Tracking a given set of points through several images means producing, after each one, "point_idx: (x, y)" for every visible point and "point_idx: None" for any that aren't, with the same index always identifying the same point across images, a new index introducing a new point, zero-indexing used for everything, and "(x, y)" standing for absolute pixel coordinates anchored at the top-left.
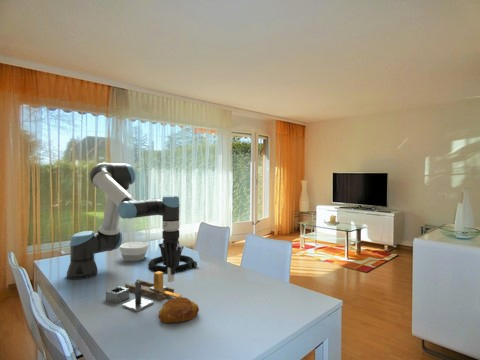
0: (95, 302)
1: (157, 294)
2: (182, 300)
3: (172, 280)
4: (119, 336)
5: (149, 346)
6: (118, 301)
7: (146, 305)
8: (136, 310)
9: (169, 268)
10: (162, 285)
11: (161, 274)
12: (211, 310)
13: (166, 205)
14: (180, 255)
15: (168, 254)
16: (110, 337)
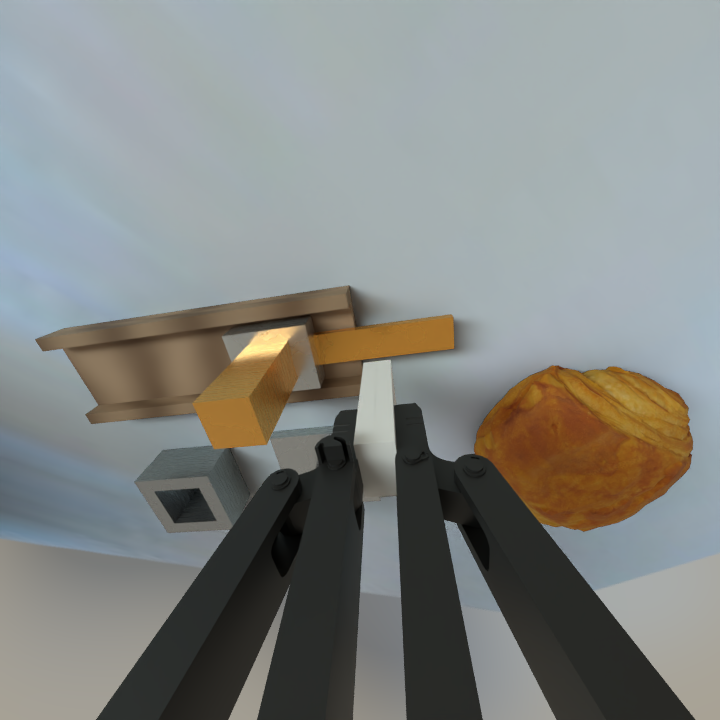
0: None
1: (332, 395)
2: (637, 490)
3: (393, 382)
4: (468, 577)
5: (587, 568)
6: (245, 490)
7: None
8: (376, 497)
9: (392, 491)
10: (286, 352)
11: (261, 406)
12: (706, 303)
13: None
14: (645, 668)
15: (350, 714)
16: None
